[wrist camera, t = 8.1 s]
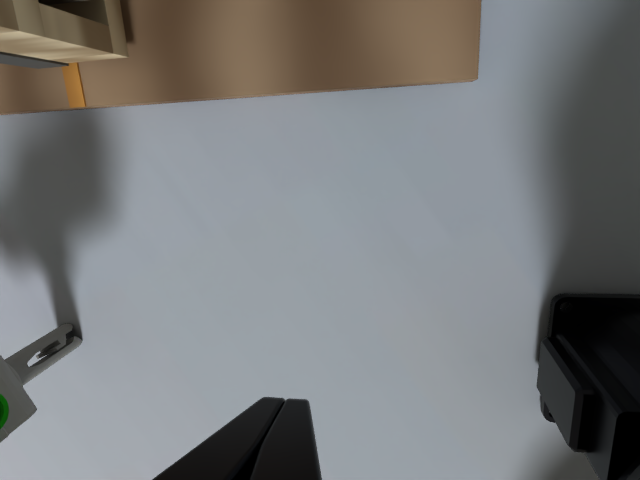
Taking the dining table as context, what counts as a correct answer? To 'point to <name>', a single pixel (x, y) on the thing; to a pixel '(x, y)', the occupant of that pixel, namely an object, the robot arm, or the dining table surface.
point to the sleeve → (63, 30)
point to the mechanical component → (28, 375)
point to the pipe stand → (258, 52)
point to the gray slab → (28, 61)
